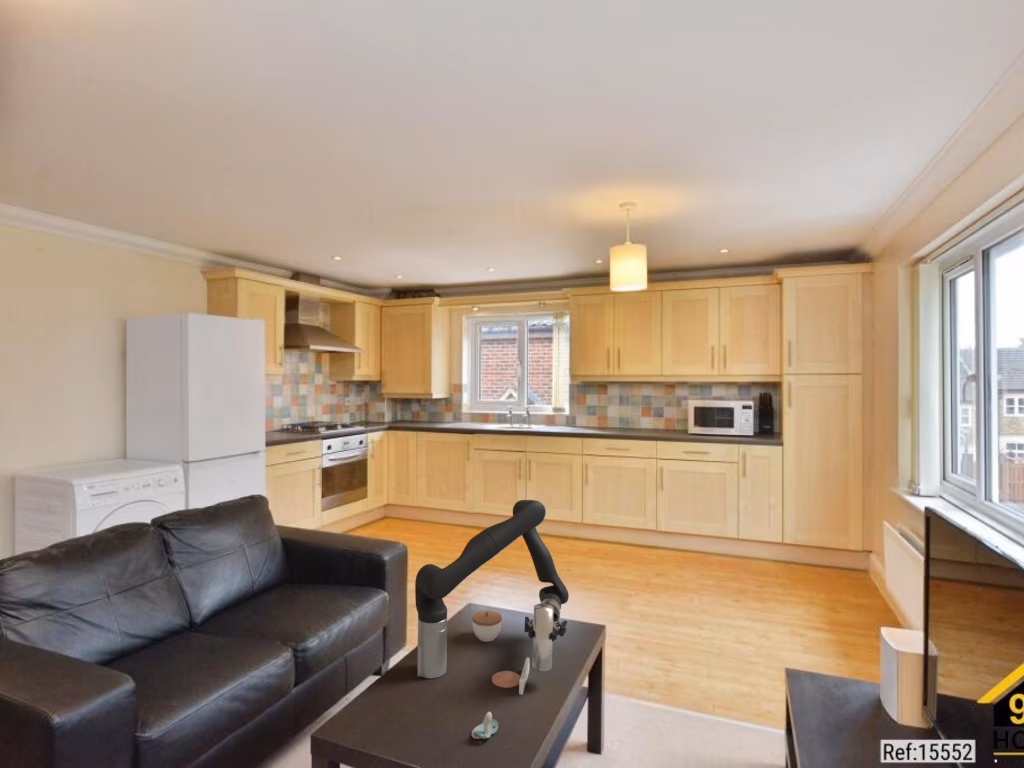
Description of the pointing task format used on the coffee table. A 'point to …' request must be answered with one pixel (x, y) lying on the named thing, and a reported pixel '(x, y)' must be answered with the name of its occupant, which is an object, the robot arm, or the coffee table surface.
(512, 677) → the terracotta coaster
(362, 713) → the coffee table surface
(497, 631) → the lidded jar
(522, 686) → the acrylic wall
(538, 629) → the metal tin
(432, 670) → the robot arm
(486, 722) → the pacifier
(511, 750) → the coffee table surface
